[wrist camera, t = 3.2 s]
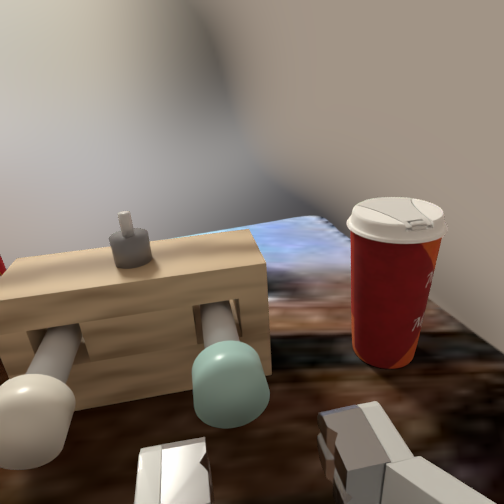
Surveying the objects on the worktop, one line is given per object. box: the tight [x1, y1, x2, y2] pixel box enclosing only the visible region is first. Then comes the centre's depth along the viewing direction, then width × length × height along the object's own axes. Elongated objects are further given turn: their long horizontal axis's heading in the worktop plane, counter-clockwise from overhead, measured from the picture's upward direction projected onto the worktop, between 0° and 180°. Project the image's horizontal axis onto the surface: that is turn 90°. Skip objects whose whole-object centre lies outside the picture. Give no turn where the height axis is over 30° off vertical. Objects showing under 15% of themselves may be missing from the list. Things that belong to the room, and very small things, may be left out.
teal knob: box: [192, 300, 270, 429], centre depth 31 cm, size 13×5×5 cm, turn 11°
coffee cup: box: [347, 197, 448, 369], centre depth 36 cm, size 8×8×15 cm
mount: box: [0, 229, 272, 411], centre depth 36 cm, size 8×22×12 cm, turn 101°
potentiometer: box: [109, 211, 153, 269], centre depth 33 cm, size 3×3×4 cm
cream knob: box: [0, 323, 83, 470], centre depth 29 cm, size 13×5×5 cm, turn 11°
